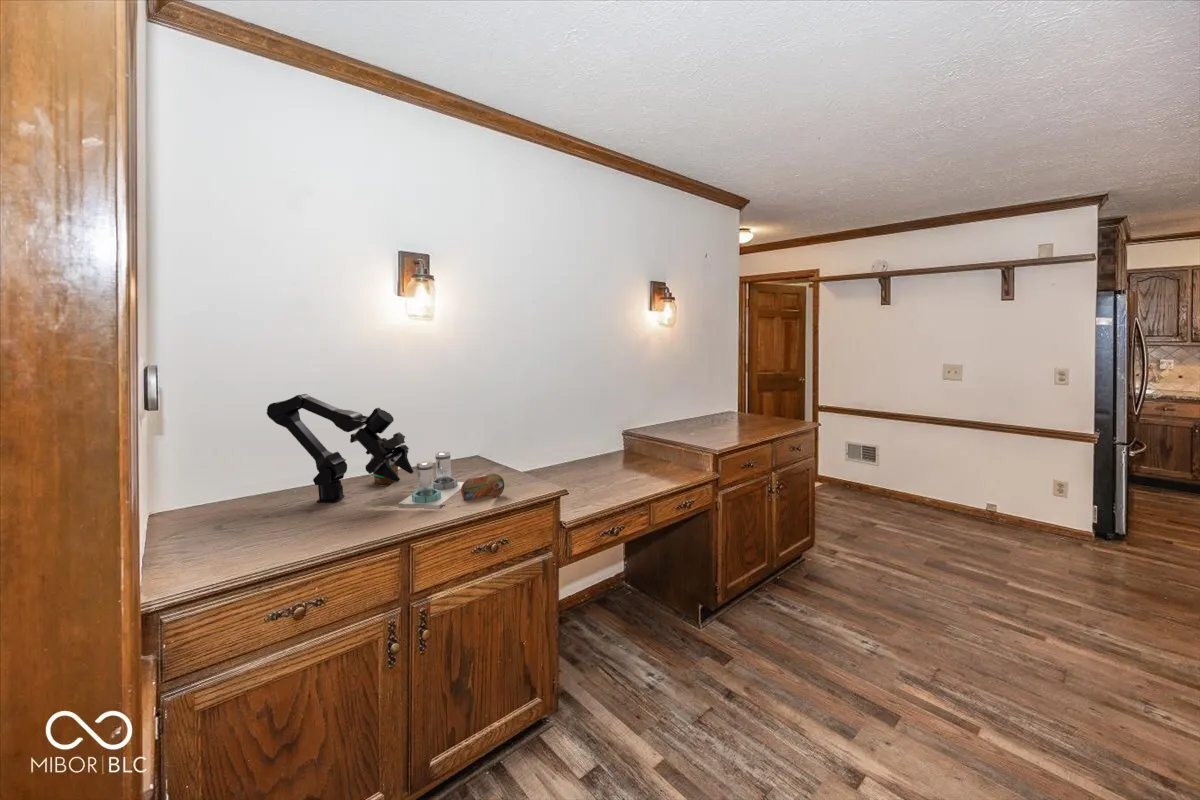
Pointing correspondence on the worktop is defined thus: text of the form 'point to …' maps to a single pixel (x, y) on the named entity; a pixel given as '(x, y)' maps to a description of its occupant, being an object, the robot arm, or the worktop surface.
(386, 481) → the food container
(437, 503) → the pallet
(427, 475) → the cylinder
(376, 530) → the worktop surface
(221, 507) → the worktop surface
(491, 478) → the tin
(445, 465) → the clear lidded jar
